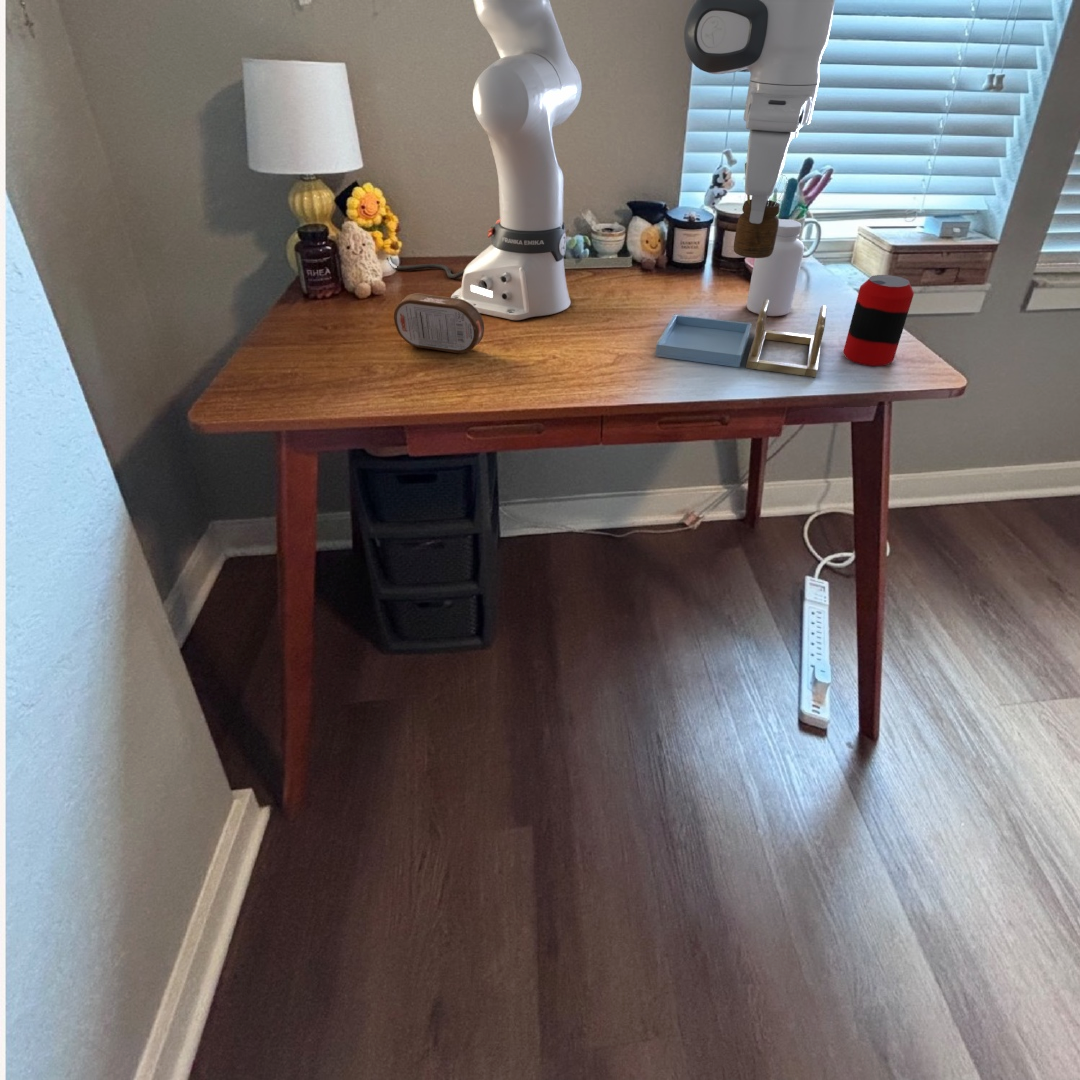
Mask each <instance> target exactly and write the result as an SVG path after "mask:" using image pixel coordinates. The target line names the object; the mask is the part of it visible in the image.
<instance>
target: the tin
mask: <svg viewBox="0 0 1080 1080" xmlns="http://www.w3.org/2000/svg"><path fill="white" fill-rule="evenodd" d="M393 320H394V321H393V322H394V325H395V329H396V331H397V333H398V335H399V336H400V337H401V338H402V339H403V340H404V342H406V343H407V344H408V345H411V346H412V347H415V348H419V349H427V350H432V351H433V350H434V351H442V352H448V353H454V354H465V353H468V352H470V351H471V350H473V349H474V348H475V347H476V346H477V345H478V344H479V343H480V342H481V341H482V339H483V337H484V333H485V324H484V320H483V317H482V315H481V313H479V312H478V310H477V309H476V308H475V307H474V306H473V305H472V304H470V303H469V302H467V301H465V300H462V299H457V298H451V297H450V296H439V295H433V294H425V293H419V292H418V293H417V292H416V293H410V294H408V295H406V296H405V297H404V298H402V300H401V301H400V302H399V303H398V304H397V305H396V307H395V309H394V312H393Z"/></svg>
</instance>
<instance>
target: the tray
mask: <svg viewBox="0 0 1080 1080" xmlns="http://www.w3.org/2000/svg"><path fill="white" fill-rule="evenodd" d="M752 324H753V323H751V322H743V321H733V320H727V319H719V318H718V319H717V318H709V317H702V316H701V317H700V316H691V315H684V314H682V315H681V314H673V315H672V317H671V319H670V320H669V322H668V324H667V325H666V327H665V329H664V331H663V333H662V334H661V336H660V337H659V340H658V341H657V343H656V345H655V355H654V356H655V357H658V358H665V359H673V360H681V361H688V362H694V363H695V362H697V363H703V364H712V365H719V366H726V367H734V368H740V366H741V362H742V360H743V357H744V354H745V350H746V348H747V345H748V341H749V338H750V335H751V330H752Z"/></svg>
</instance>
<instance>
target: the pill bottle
mask: <svg viewBox="0 0 1080 1080" xmlns="http://www.w3.org/2000/svg"><path fill="white" fill-rule="evenodd" d="M778 219H779V226H778V232H777V237H776V241H775V246H774V250H773V253H772V254H771V255H770V256H769V257H765V258H754V261H753V267H752V272H751V278H750V284H749V287H748V295H747V299H746V308H747V310H748V311H749V312H751V313H754V314H756V315H759V314H760V311H761V308H762V305H763V302H764V300H765V299H768V300H769V306H768V312H767V317H779V316H781V317H782V316H785V315H788V314H789V313H790V312H791V310H792V306H793V302H794V298H795V293H796V288H797V285H798V280H799V276H800V270H801V268H802V267H801V266H802V261H803V258H804V252H805V245H804V243H803V241H802V240H800V239H799V238H800V234H801V230H802V223H801V222H799V221H796V220H794V219H787V218H786V219H785V218H778Z"/></svg>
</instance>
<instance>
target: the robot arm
mask: <svg viewBox="0 0 1080 1080" xmlns="http://www.w3.org/2000/svg"><path fill="white" fill-rule="evenodd" d="M472 1H473V5H474V10H475V15H476V16H477V18H478V21H479V22H480V23H481V25H482V26H483V27H484V28H485V30H486V31H487V33H488V34H489V35H490V36H489V37H490V39H491V40H492V43H493V45H494V47H495V50H496V51H497V53H498V56H499V59H497V60H495V61H494V62H493V63H491V64H490V65H489V66H487V67H486V68H485V69H484V70H483V71H482V72H481V73H480V74H479V76H478V77H477V79H476V80H475V82H474V87H473V90H472V108H473V112H474V115H475V118H476V119H477V122H478V123H479V125H480V126H481V127H482V129H483V130H484V132H485V133H486V135H487V138H488V140H489V145H490V148H491V152H492V155H493V160H494V163H495V168H496V174H497V182H498V200H499V201H498V202H499V203H498V205H499V219H498V220H496V222H495V224H493V225H492V226H491V227H490V229H488V230H487V231H486V232H487V233H488V234H487V238H491V244H490V245H489V246H487V247H486V248H485V249H484V250H482V251H481V252H480V253H479V254H478V255H477V256H476V257H475V258H473V259H472V260H471V261H470V262H469V263H468V264H467V265H466V266H465V268H464V269H463V270H461V271H459V272H456V273H452V272H451V269H450V268H449V266H447V265H445V264H441V263H424V264H423V263H422V264H414V265H413V264H412V265H399V264H398V265H399V266H397V268H395V269H394V270H398V271H413V270H415V271H416V270H424V269H440V270H444V271H445V273H446V276H447V278H449V279H452V280H453V279H454V280H455V279H459V278H461V277H462V279H461V287H459V288H458V289H456V290H455V291H454V292H453V293H452V294H451V296H450V298H457V299H462V300H465V301H467V302H469V303H470V304H472V305H473V306H474V307H475V308H476V309H477V310H478V312H479V313H480V314H483V315H488V316H492V317H496V318H497V317H498V318H502V319H506V320H511V321H521V320H525V319H529V318H534V317H543V316H549V315H553V314H557V313H561V312H562V311H565V310H567V309H568V308H569V307H570V306H571V304H572V301H571V298H570V294H569V290H568V285H567V279H566V272H565V271H566V269H565V259H564V258H565V257H566V249H567V234H566V223H565V221H564V181H565V180H564V179H565V178H564V173H563V171H562V168H561V167H560V165H559V163H558V159H557V155H556V151H555V146H554V140H553V128H556V127H557V126H560V125H562V124H563V123H564V122H565V121H567V120H568V119H569V117H571V115H572V114H573V113H574V112H575V110H576V108H577V107H578V105H579V103H580V100H581V97H582V89H583V88H582V87H583V86H582V78H581V75H580V72H579V70H578V68H577V67H576V65H575V63H574V62H573V61H572V60H571V58H570V55H569V53H568V49H567V47H566V45H565V42H564V39H563V36H562V33H561V30H560V28H559V25H558V22H557V18H556V17H555V13H554V10H553V8H552V5H551V1H550V0H472ZM835 5H836V0H696V1H695V2H694V3H693V5H692V7H690V10H689V12H688V15H687V17H686V20H685V24H684V29H683V41H684V48H685V52H686V53H687V54H686V55H687V57H688V58H689V60H690V62H691V63H692V65H694V66H695V67H696V68H697V69H698V70H700V71H702V72H705V73H708V74H711V75H724V74H733V73H750V76H749V81H748V82H749V83H748V89H747V95H746V100H745V107H744V112H743V121H744V122H746V123H745V129H746V130H749V134H748V135H749V136H748V143H747V151H746V152H747V153H746V155H747V156H746V162H747V163H746V162H745V163H746V174H745V173H744V192H745V195H750V196H751V199H752V202H751V213H750V219H749V220H750V222H751V223H756V224H760V223H761V222H762V220H763V216H764V211H765V206H766V203H767V200H770V198H771V196H772V195H774V191H775V190H776V187H777V185H778V182H779V180H780V178H781V177H780V176H781V174H782V172H783V169H784V167H785V163H786V159H787V158H786V157H787V153H788V148H789V145H790V143H791V141H792V140H793V139H797V138H798V136H799V131H800V129H801V128H803V127H804V126H807V125H809V124H811V120H812V115H813V111H814V107H815V101H816V98H817V94H818V93H817V92H818V88H819V84H820V63H821V60H822V56H823V54H824V51H825V49H826V47H827V46H828V41H829V37H830V32H831V27H832V22H833V15H834V10H835ZM769 197H770V198H769Z"/></svg>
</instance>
